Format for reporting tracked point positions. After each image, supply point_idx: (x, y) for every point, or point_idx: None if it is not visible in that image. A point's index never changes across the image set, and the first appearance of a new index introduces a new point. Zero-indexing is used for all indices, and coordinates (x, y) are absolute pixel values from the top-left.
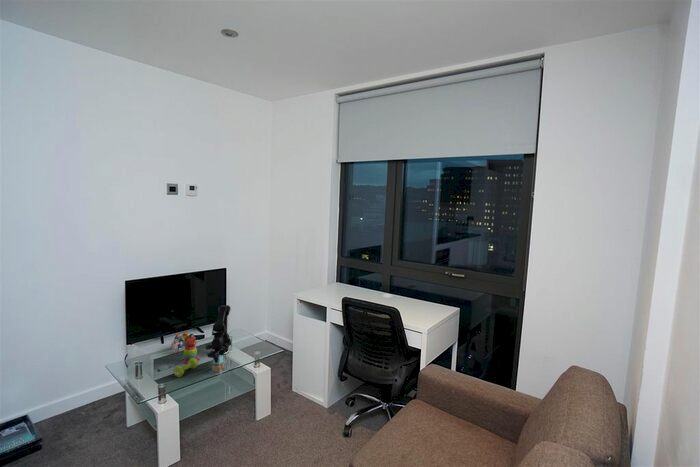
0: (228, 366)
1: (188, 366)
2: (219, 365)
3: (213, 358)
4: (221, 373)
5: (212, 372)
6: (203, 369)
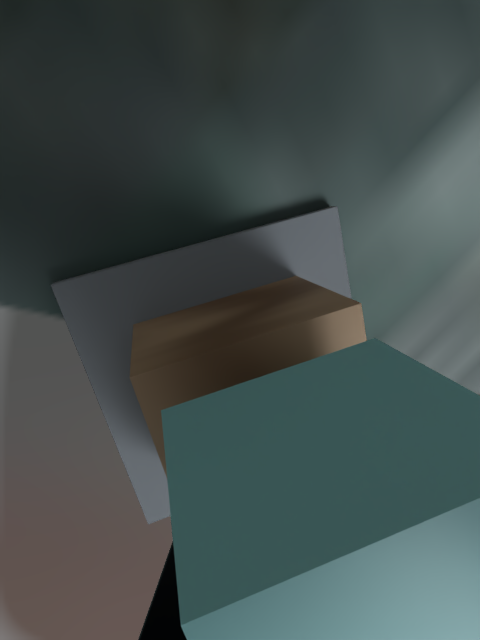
0: None
1: None
2: None
3: (183, 592)
4: None
5: (111, 364)
6: (99, 73)
